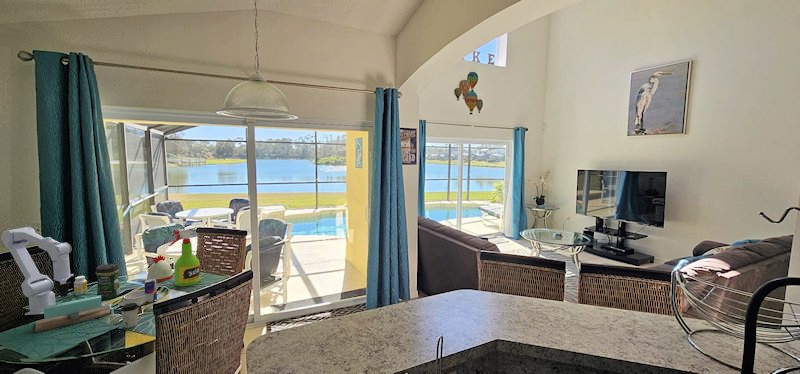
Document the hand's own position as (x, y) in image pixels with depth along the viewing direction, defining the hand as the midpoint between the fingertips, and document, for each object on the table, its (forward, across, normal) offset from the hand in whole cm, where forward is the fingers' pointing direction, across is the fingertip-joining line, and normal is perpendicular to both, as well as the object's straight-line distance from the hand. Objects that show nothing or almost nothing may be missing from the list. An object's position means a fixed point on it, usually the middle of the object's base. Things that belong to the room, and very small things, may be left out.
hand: (63, 294), depth 169 cm
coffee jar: (+11, +12, -18) cm, 24 cm away
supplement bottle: (+10, +28, -7) cm, 31 cm away
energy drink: (+11, -11, -33) cm, 37 cm away
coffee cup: (+11, -35, -21) cm, 43 cm away
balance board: (+10, -9, -3) cm, 14 cm away
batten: (+7, -9, -3) cm, 12 cm away
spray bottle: (+11, +6, -53) cm, 55 cm away
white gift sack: (+11, +26, -45) cm, 53 cm away
